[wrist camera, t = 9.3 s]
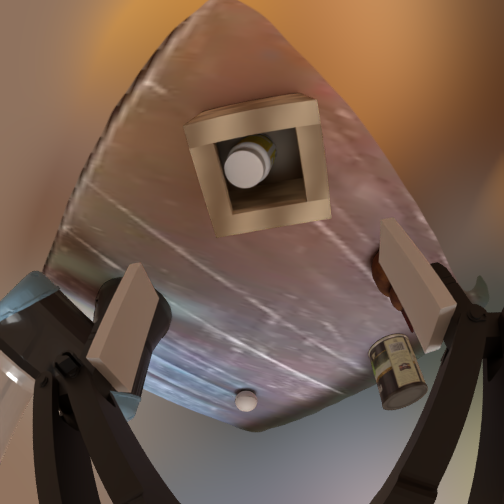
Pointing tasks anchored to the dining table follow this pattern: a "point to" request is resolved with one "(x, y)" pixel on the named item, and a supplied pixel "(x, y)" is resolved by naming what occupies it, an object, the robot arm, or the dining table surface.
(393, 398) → the coffee can
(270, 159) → the supplement bottle
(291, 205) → the drop box
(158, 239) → the dining table surface
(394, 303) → the wooden figurine
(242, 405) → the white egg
